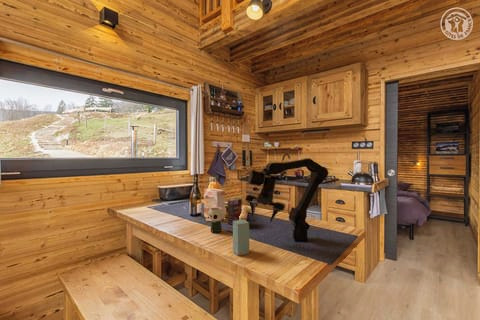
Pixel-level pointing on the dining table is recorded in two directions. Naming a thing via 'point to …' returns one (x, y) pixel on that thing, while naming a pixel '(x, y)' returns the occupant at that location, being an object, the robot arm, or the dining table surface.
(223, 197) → the coffeecake box
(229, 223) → the supplement box
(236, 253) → the post
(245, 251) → the sage green block
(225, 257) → the dining table surface
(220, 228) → the cream head figurine
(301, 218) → the robot arm
